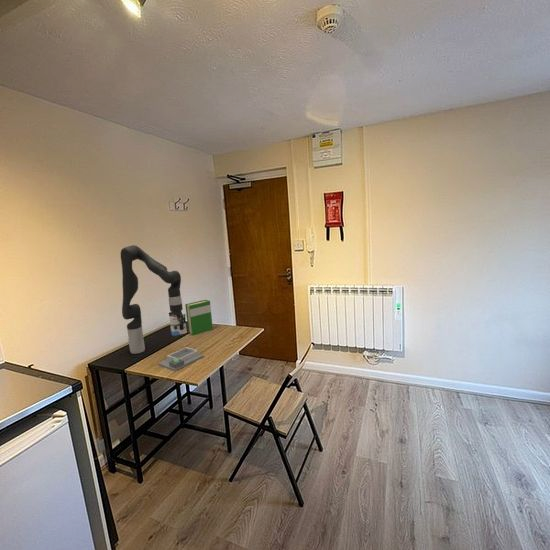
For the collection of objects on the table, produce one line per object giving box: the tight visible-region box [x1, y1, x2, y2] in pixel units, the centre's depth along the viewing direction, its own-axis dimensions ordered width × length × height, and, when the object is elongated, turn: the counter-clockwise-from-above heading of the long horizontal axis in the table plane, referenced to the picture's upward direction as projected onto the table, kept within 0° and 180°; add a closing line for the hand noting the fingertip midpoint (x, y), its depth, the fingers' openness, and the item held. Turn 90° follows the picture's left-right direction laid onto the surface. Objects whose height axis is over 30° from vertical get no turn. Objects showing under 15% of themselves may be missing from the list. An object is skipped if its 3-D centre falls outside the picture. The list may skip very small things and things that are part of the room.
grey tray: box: [157, 346, 205, 372], centre depth 190 cm, size 17×22×4 cm
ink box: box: [169, 316, 188, 337], centre depth 190 cm, size 8×5×12 cm, turn 125°
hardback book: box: [184, 299, 214, 336], centre depth 241 cm, size 18×7×24 cm, turn 131°
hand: (178, 328), depth 190 cm, fingers closed on ink box, 6 cm apart
